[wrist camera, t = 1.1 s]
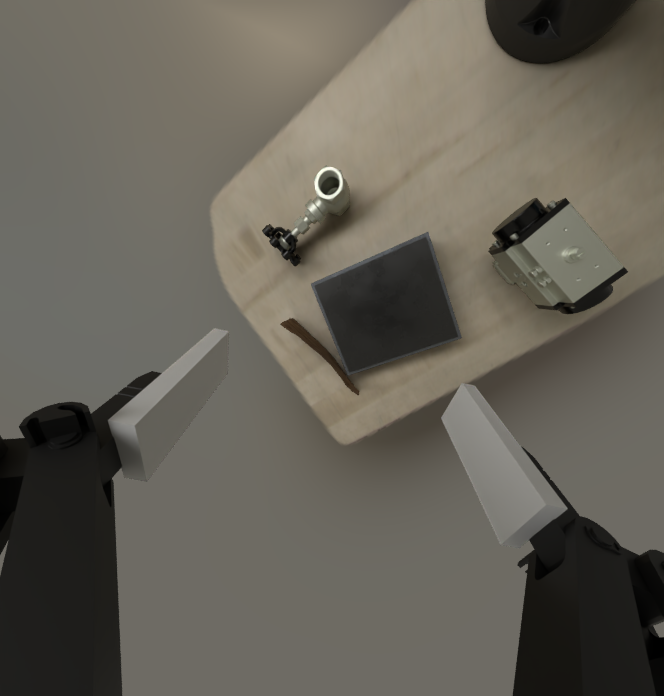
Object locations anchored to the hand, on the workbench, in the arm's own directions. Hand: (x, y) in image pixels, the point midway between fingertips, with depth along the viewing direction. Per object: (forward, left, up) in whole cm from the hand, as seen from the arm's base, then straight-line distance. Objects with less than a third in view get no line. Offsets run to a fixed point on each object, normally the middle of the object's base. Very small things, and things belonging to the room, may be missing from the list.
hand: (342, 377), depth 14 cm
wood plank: (+8, +3, -26) cm, 27 cm away
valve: (+1, -16, -26) cm, 30 cm away
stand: (-3, -1, -25) cm, 26 cm away
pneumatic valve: (-20, 0, -26) cm, 33 cm away
